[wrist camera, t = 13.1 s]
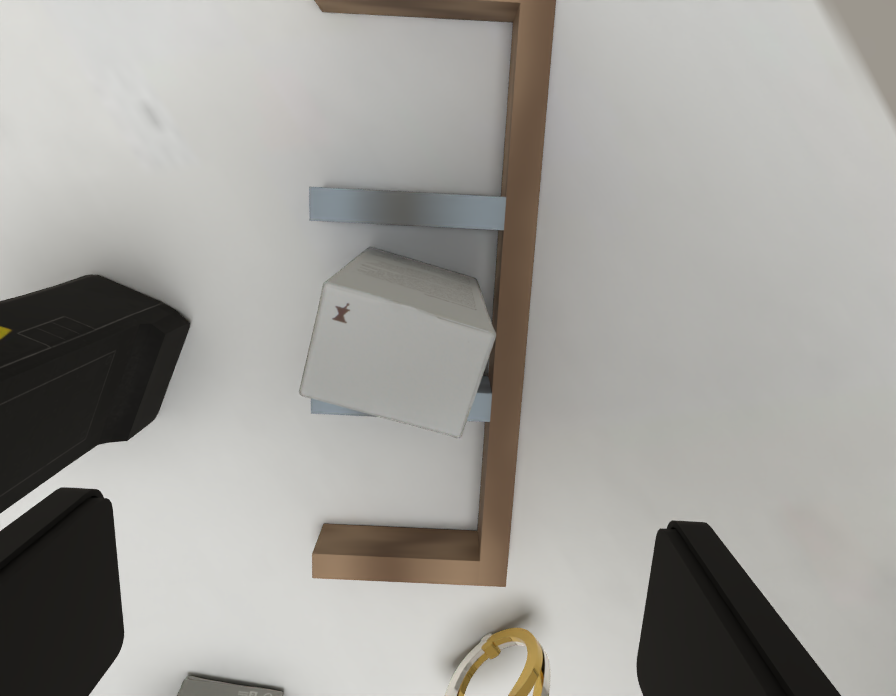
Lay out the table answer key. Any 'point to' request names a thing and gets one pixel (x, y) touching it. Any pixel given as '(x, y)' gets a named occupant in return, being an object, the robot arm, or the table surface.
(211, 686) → the skincare box
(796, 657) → the robot arm
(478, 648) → the ring
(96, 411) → the portable radio
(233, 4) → the table surface
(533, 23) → the slot rack
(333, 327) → the skincare box
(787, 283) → the table surface
